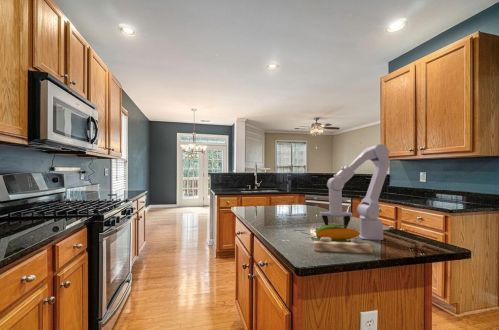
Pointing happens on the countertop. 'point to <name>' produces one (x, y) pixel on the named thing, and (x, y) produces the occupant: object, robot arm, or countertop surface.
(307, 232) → the countertop surface
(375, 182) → the robot arm
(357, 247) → the boss rack
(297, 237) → the countertop surface
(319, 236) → the corn
